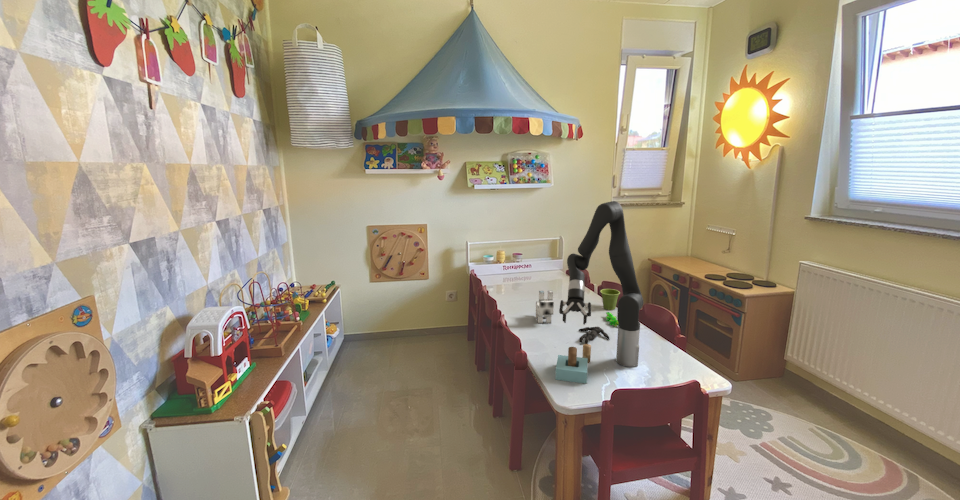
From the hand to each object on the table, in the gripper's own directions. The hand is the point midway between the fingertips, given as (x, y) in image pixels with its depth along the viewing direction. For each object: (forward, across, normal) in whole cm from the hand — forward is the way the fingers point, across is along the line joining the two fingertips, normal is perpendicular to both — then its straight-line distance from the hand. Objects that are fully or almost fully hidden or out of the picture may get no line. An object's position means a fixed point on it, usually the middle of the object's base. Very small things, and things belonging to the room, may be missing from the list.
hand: (574, 323), depth 177 cm
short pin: (+12, +6, +16) cm, 21 cm away
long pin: (+21, 0, +7) cm, 22 cm away
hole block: (+21, 0, +7) cm, 22 cm away
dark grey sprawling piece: (-8, +9, +36) cm, 38 cm away
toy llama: (-19, -19, +47) cm, 54 cm away
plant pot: (-41, +19, +69) cm, 82 cm away
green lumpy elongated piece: (-24, +20, +53) cm, 61 cm away
